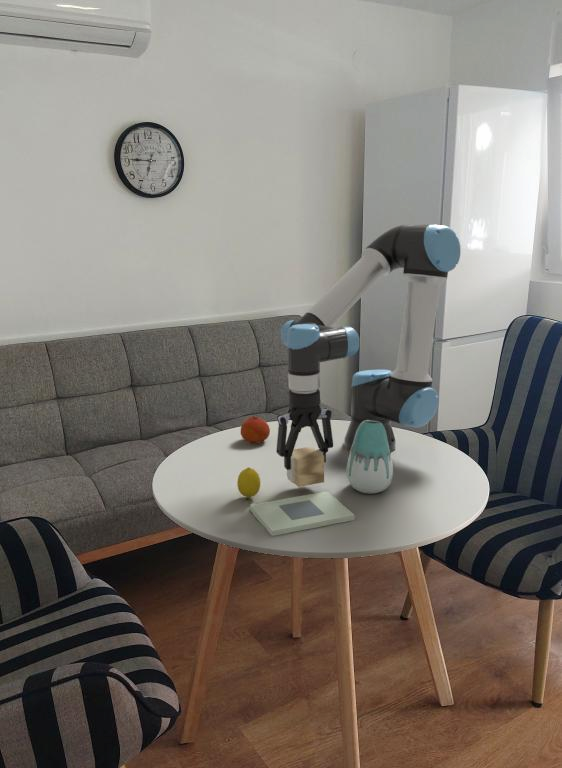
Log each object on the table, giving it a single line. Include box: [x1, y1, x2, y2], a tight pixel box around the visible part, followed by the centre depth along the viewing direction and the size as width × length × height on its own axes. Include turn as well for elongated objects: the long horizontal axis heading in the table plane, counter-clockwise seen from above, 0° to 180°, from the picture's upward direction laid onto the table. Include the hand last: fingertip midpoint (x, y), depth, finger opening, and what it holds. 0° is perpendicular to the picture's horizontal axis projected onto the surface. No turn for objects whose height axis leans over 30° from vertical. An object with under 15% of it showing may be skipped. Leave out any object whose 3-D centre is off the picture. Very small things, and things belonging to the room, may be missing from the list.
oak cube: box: [286, 445, 325, 488], centre depth 160 cm, size 7×7×7 cm
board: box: [249, 491, 355, 537], centre depth 148 cm, size 20×14×1 cm
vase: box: [346, 420, 394, 494], centre depth 160 cm, size 12×12×18 cm
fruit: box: [240, 415, 271, 444], centre depth 196 cm, size 9×9×8 cm
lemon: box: [236, 467, 261, 499], centre depth 156 cm, size 6×6×8 cm
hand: (305, 477), depth 161 cm, fingers closed on oak cube, 7 cm apart
